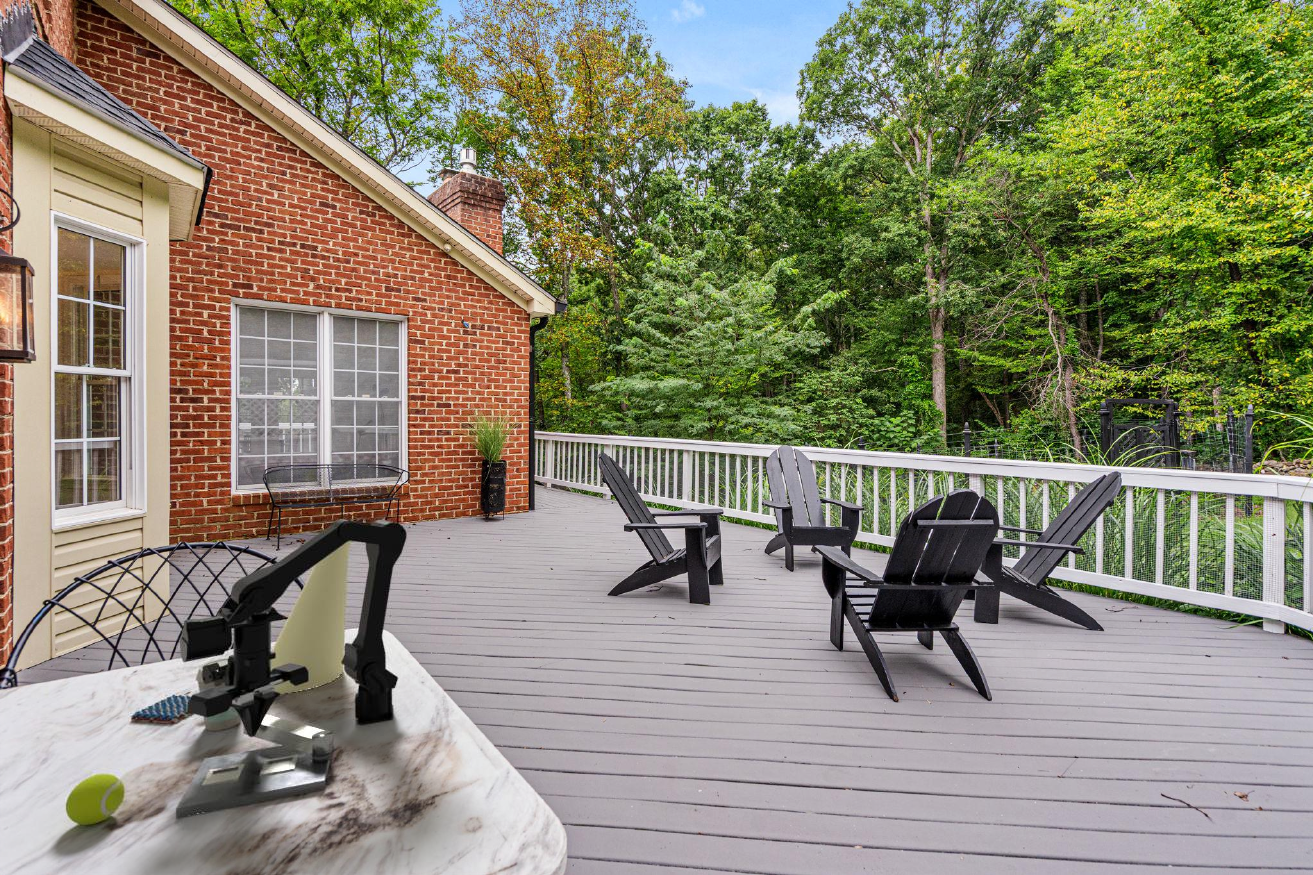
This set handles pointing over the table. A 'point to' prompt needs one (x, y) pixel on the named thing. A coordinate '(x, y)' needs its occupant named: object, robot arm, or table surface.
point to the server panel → (253, 778)
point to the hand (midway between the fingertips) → (251, 736)
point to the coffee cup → (222, 719)
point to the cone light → (316, 625)
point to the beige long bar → (295, 735)
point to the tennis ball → (95, 799)
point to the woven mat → (164, 710)
